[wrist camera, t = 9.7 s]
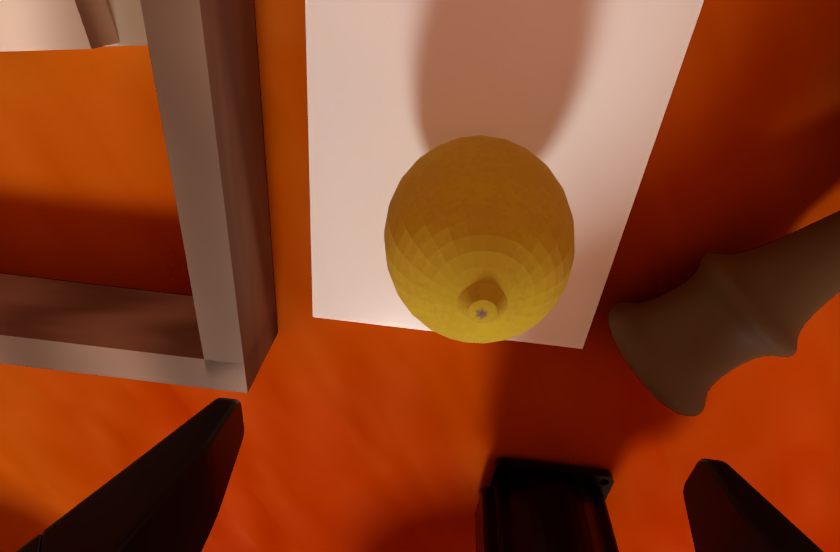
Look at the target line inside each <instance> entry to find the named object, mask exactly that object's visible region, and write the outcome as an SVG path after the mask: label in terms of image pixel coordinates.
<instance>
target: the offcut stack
mask: <svg viewBox="0 0 840 552" xmlns="http://www.w3.org/2000/svg"><path fill="white" fill-rule="evenodd" d="M134 45H148V42H147V36H146V31H145V25H144V19H143V14H142V8H141V3H140V0H0V52H1V51H35V50H69V49H93V48H98V47H102V46H134Z"/></svg>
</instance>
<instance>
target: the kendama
mask: <svg viewBox="0 0 840 552" xmlns="http://www.w3.org/2000/svg"><path fill="white" fill-rule="evenodd" d="M839 292H840V211H838V212H836V213H834V214H831V215H829V216H827V217H825V218H823V219H821V220H819V221H817V222H815V223H812V224H810V225H808V226H806V227H804V228H802V229H799V230H797V231H795V232H793V233H791V234H788V235H786V236H784V237H781V238H779V239H777V240H775V241H772V242H770V243H767V244H764V245H762V246H759V247H757V248H754V249H751V250H747V251H744V252H740V253H734V254H720V253H714V252H708V253H705V254H704V255H703V256H702V258H701V260H700V263H699V266H698V268H697V270H696V272H695V273H694V274H693V275H692V276H691V277H690V278H689V279H688V280H687V281H685V282H684V283H683V284H681V285H680V286H678V287H676V288H674V289H673V290H671V291H669V292H667V293H665V294H663V295H661V296H659V297H656V298H654V299H651V300H648V301H645V302H639V303H635V302H618V303H615V304H614V305H613V306H612V307H611V309H610V311H609V315H608V322H609V326H610V331H611V334H612V336H613V339H614V341H615V343H616V345H617V347H618V349H619V351H620V353H621V355H622V357H623V358H624V360H625V361H626V362H627V364H628V365H629V366H630V368H631V369H632V371H633V372H634V373H635V375H636V376H637V377H638V379H639V380H640V381H641V383H642V384H643V385H644V386H645V387H646V388H647V389H648V390H649V391H650V392H651V393H652V394H653V395H654V396H655V397H656V398H657V399H658V400H659V401H660V402H662V403H663V404H664V405H665V406H667V407H668V408H670V409H671V410H673V411H675V412H676V413H678V414H681V415H685V416H696V415H699V414H700V413H701V412H702V411H703V409H704V406H705V401H706V396H707V392H708V391H709V389H710V388H711V386H712V385H713V384H714V383H715V382H716V381H717V380H718V379H720V378H721V377H722V376H724V375H725V374H727V373H728V372H729V371H731V370H733V369H734V368H736V367H738V366H740V365H741V364H743V363H745V362H748V361H750V360H752V359H755V358H759V357H763V356H778V357H790V356H792V355H793V354H795V352H796V350H797V339H798V336H799V333H800V331H801V329H802V328H803V326H804V324H805V323H806V322H807V321H808V320H809V319H810V318H811V317H812V315H813V314H814V313H815V312H817V311H818V310H819V309H820V308H821V307H822V306H823V305H824V304H825V303H827V302H828V301H829V300H830V299H831V298H833V297H834V296H835V295H836V294H838V293H839Z"/></svg>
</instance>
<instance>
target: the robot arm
mask: <svg viewBox="0 0 840 552" xmlns="http://www.w3.org/2000/svg"><path fill="white" fill-rule="evenodd" d="M243 436H244V423H243V415H242V407H241V403H240V401H239V400H236V399H228V398H218V399H216V400H214V401H213V402H212V403H210V404H209V405H208V406H206V407H205V408H204V409H203V410H201V411H200V412H199V413H197V414H196V415H195V416H193V417H192V418H191V419H189V420H188V421H187V422H186V423H184V424H183V425H182V426H180V427H179V428H178V429H176V430H175V431H174V432H172V433H171V434H170V435H169V436H167V437H166V438H165V439H163V440H162V441H161V442H159V443H158V444H157V445H155V446H154V447H153V448H152V449H150V450H149V451H148V452H146V453H145V454H144V455H142V456H141V457H140V458H138V459H137V460H136V461H134V462H133V463H132V464H131V465H129V466H128V467H127V468H125V469H124V470H123V471H121V472H120V473H119V474H117V475H116V476H115V477H114V478H112V479H111V480H110V481H108V482H107V483H106V484H104V485H103V486H102V487H100V488H99V489H98V490H97V491H95V492H94V493H93V494H91V495H90V496H89V497H87V498H86V499H85V500H83V501H82V502H81V503H80V504H78V505H77V506H76V507H74V508H73V509H72V510H70V511H69V512H68V513H66V514H65V515H64V516H63V517H61V518H60V519H59V520H57V521H56V522H55V523H53V524H52V525H51V526H49V527H48V528H47V529H45V530H44V532H43V535H37V536H36V537H35V538H33V539H32V540H31V541H30V542H28V543H27V544H26V545H24V546H23V547H22V548H20V549H19V550H18V551H16V552H201V551H202V549H203V547H204V545H205V542H206V540H207V538H208V536H209V534H210V531H211V529H212V527H213V525H214V522H215V520H216V517H217V515H218V512H219V509H220V506H221V504H222V501H223V498H224V495H225V492H226V489H227V486H228V483H229V479H230V476H231V473H232V470H233V467H234V464H235V461H236V458H237V455H238V452H239V449H240V446H241V443H242V440H243ZM613 482H614V481H613V477H612V474H611V473H610V472H609V471H606V470H599V469H591V468H583V467H575V466H566V465H558V464H550V463H541V462H533V461H525V460H517V459H508V458H500V459H497V460H496V461H495V463H494V466H493V470H492V473H491V477H490V481H489V485H488V486H485V487H484V488H483V489H482V490H481V494H480V498H479V501H478V505H477V509H476V513H475V525H476V552H619V550H618V547H617V543H616V539H615V536H614V532H613V528H612V525H611V521H610V517H609V514H608V510H607V506H606V503H605V500H606V498H607V495H608V493H609V491H610V489H611V487H612V485H613ZM683 494H684V501H685V505H686V510H687V514H688V519H689V524H690V528H691V533H692V538H693V542H694V547H695V551H696V552H823V551H822V550H821V549H820V548H819V547H818V546H817V545H815V544H814V543H813V542H812V541H811V540H810V539H809V538H808V537H807V536H806V535H805V534H803V533H802V532H801V531H800V530H799V529H798V528H797V527H796V526H795V525H794V524H793V523H791V522H790V521H789V520H788V519H787V518H786V517H785V516H784V515H783V514H782V513H781V512H779V511H778V510H777V509H776V508H775V507H774V506H773V505H772V504H771V503H770V502H769V501H767V500H766V499H765V498H764V497H763V496H762V495H761V494H760V493H759V492H758V491H757V490H755V489H754V488H753V487H752V486H751V485H750V484H749V483H748V482H747V481H746V480H744V479H743V478H742V477H741V476H740V475H739V474H738V473H737V472H736V471H735V470H734V469H732V468H731V467H730V466H729V465H728V464H727V463H725V462H723V461H719V460H712V459H701V460H700V461H698V463H697V464H696V466H695V468H694V469H693V471H692V473H691V474H690V476H689V477H688V479H687V481H686V482H685V485H684V490H683Z"/></svg>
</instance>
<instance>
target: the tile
mask: <svg viewBox="0 0 840 552" xmlns="http://www.w3.org/2000/svg"><path fill="white" fill-rule="evenodd" d="M703 2H704V0H305V12H306V54H307V95H308V137H309V179H310V220H311V262H312V304H313V317H317V318H325V319H334V320H342V321H351V322H359V323H368V324H376V325H384V326H393V327H401V328H410V329H418V330H427V331H432V330H430V329H429V328H428V327H427V326H425V325H424V324H423V323H422V322H421V321H419V320H418V319H417V318H416V317H414V316H413V315H412V314H411V312H410V311H409V310H408V308H407V307H406V306H405V304H404V303H403V302H402V300H401V299H400V297H399V296H398V294H397V291H396V289H395V286H394V284H393V281H392V279H391V276H390V274H389V271H388V267H387V261H386V252H385V242H384V230H385V224H386V219H387V213H388V208H389V204H390V201H391V199H392V197H393V195H394V193H395V190H396V188H397V186H398V184H399V182H400V180H401V179H402V177H403V176H404V175H405V174H406V172H407V171H408V170H409V169H410V168H411V167H412V166H413V164H414V163H415V162H416V161H417V160H418V159H419V158H420V157H421V156H423V155H424V154H426V153H427V152H429V151H430V150H432V149H433V148H435V147H436V146H438V145H440V144H443V143H446V142H449V141H451V140H454V139H457V138H460V137H469V136H480V135H483V136H489V137H495V138H502V139H506V140H508V141H510V142H513V143H515V144H517V145H520V146H522V147H524V148H526V149H527V150H529V151H530V152H531V153H532V154H534V155H535V156H536V157H537V158H539V159H540V160H541V161H542V162H544V163H545V164H546V165H547V166H548V167H549V169H550V170H551V172H552V173H553V175H554V176H555V177H556V179H557V180H558V182H559V183H560V185H561V186H562V188H563V190H564V192H565V195H566V198H567V201H568V204H569V207H570V210H571V213H572V216H573V221H574V245H575V253H574V260H573V265H572V268H571V272H570V276H569V279H568V283H567V286H566V288H565V290H564V292H563V293H562V295H561V297H560V298H559V300H558V302H557V303H556V305H555V307H554V308H553V309H552V310H551V311H550V312H549V313H548V314H547V315H546V316H545V317H544V318H543V319H542V320H541V321H540V322H539V323H538V324H537V325H535V326H533V327H532V328H530V329H528V330H527V331H525V332H524V333H522V334H520V335H517V336H514V337H511V338H509V339H506V340H511V341H519V342H528V343H536V344H545V345H553V346H561V347H570V348H578V349H583V346H584V343H585V340H586V338H587V335H588V332H589V329H590V326H591V323H592V320H593V317H594V315H595V312H596V309H597V306H598V303H599V300H600V297H601V294H602V292H603V289H604V286H605V283H606V280H607V277H608V274H609V272H610V269H611V266H612V263H613V260H614V257H615V254H616V251H617V249H618V246H619V243H620V240H621V237H622V234H623V231H624V229H625V226H626V223H627V220H628V217H629V214H630V211H631V208H632V206H633V203H634V200H635V197H636V194H637V191H638V188H639V185H640V183H641V180H642V177H643V174H644V171H645V168H646V165H647V163H648V160H649V157H650V154H651V151H652V148H653V145H654V142H655V140H656V137H657V134H658V131H659V128H660V125H661V122H662V119H663V117H664V114H665V111H666V108H667V105H668V102H669V99H670V97H671V94H672V91H673V88H674V85H675V82H676V79H677V76H678V74H679V71H680V68H681V65H682V62H683V59H684V56H685V54H686V51H687V48H688V45H689V42H690V39H691V36H692V33H693V31H694V28H695V25H696V22H697V19H698V16H699V13H700V10H701V8H702V5H703Z"/></svg>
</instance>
